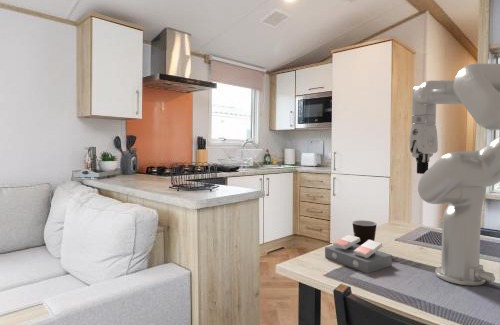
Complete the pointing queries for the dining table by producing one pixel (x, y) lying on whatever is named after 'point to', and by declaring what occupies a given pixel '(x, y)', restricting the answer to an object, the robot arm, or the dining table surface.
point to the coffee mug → (364, 230)
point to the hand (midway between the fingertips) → (422, 173)
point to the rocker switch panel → (359, 258)
